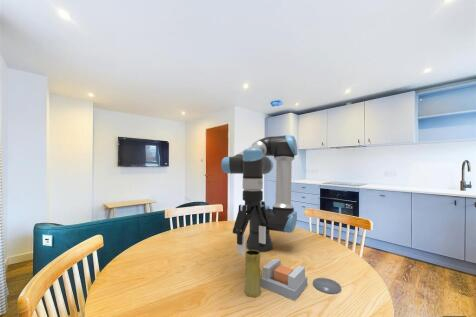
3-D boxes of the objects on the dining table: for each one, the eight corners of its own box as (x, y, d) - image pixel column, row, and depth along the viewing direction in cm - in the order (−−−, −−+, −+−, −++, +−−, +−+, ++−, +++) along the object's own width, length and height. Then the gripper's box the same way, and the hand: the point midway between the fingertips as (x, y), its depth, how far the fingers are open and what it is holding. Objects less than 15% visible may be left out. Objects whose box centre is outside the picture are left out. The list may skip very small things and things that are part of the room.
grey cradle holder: (260, 286, 80) (260, 267, 80) (275, 273, 89) (275, 257, 89) (294, 300, 71) (294, 279, 71) (307, 285, 80) (307, 266, 81)
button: (273, 279, 80) (273, 270, 80) (280, 273, 84) (280, 265, 84) (287, 284, 76) (287, 274, 76) (293, 278, 80) (293, 269, 81)
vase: (263, 295, 74) (263, 254, 74) (247, 298, 72) (247, 256, 73) (257, 286, 79) (257, 248, 80) (242, 288, 78) (242, 250, 78)
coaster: (309, 287, 79) (309, 285, 79) (317, 276, 87) (317, 275, 87) (337, 297, 73) (337, 295, 73) (343, 285, 80) (343, 283, 80)
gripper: (240, 193, 65) (239, 262, 64) (277, 188, 85) (277, 241, 84) (222, 191, 70) (221, 255, 69) (261, 187, 90) (261, 237, 88)
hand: (252, 248), depth 76 cm, fingers open, 13 cm apart
